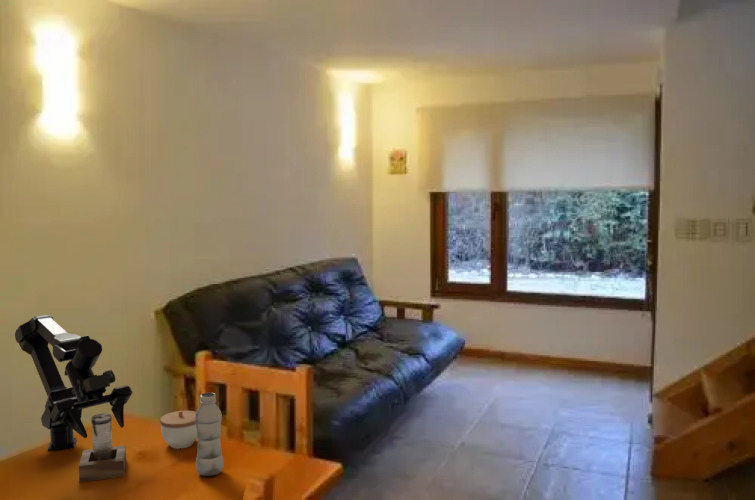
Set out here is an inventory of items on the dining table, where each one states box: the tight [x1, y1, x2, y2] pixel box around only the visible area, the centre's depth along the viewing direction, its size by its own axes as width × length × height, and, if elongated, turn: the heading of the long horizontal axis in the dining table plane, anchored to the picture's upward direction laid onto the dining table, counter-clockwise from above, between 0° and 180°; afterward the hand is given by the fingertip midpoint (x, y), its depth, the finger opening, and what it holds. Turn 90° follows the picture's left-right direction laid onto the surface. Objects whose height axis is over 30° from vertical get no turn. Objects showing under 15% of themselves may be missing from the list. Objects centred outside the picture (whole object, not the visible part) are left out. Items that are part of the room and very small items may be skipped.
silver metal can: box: [91, 412, 113, 461], centre depth 160 cm, size 5×5×13 cm
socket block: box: [78, 444, 127, 483], centre depth 160 cm, size 10×10×4 cm
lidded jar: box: [159, 410, 198, 450], centre depth 177 cm, size 11×11×9 cm
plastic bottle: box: [194, 392, 224, 477], centre depth 158 cm, size 6×7×20 cm
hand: (104, 431), depth 158 cm, fingers open, 9 cm apart
